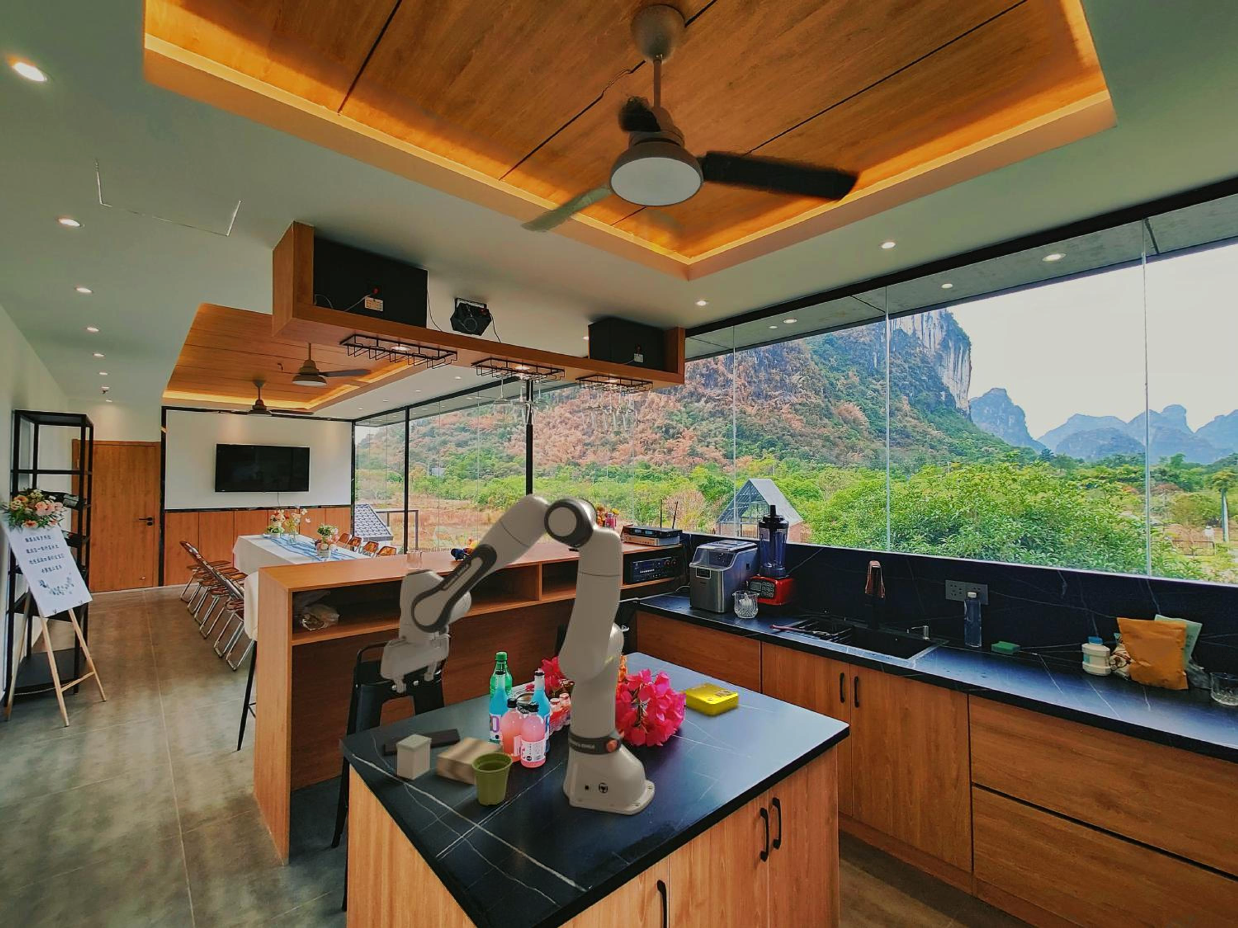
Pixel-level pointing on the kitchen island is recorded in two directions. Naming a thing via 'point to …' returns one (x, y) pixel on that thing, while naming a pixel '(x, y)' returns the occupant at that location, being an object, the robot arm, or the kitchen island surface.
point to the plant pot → (491, 776)
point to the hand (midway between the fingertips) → (415, 685)
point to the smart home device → (436, 737)
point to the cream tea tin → (413, 756)
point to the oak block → (464, 758)
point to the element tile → (710, 699)
